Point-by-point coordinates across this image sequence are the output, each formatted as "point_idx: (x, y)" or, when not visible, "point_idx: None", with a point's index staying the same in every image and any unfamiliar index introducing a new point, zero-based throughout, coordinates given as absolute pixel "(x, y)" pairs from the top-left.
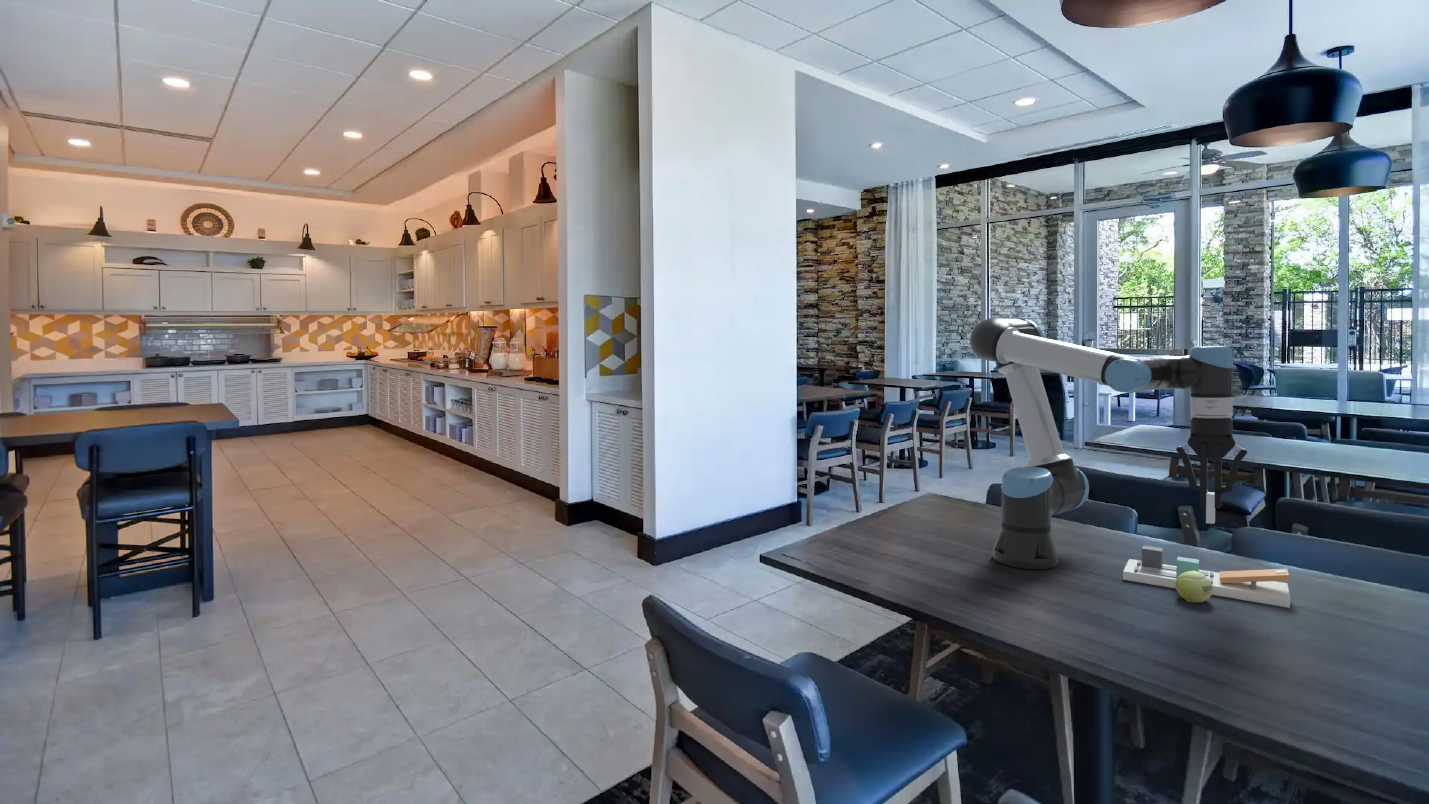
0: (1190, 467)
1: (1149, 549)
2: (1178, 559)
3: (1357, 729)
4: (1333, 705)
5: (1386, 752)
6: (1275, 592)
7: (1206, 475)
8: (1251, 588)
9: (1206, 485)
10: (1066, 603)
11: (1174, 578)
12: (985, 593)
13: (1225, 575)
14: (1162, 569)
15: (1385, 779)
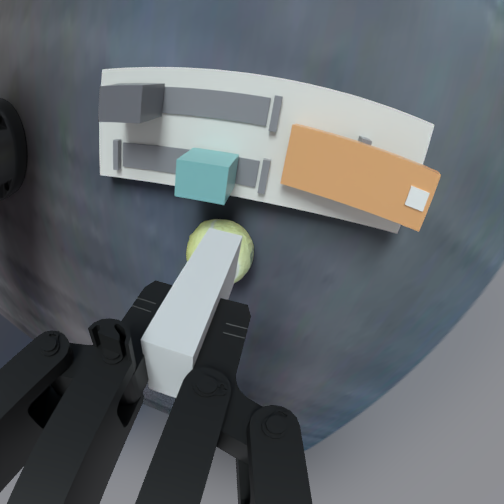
0: (7, 479)
1: (112, 120)
2: (178, 189)
3: (302, 434)
4: (302, 423)
5: (305, 442)
6: None
7: (102, 490)
8: None
9: (128, 432)
10: (86, 305)
11: None
12: (30, 296)
13: (296, 169)
14: (165, 117)
15: None
